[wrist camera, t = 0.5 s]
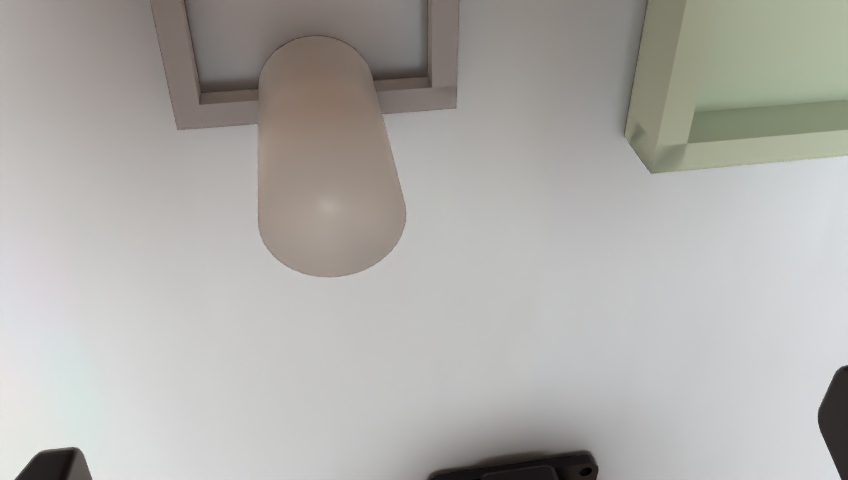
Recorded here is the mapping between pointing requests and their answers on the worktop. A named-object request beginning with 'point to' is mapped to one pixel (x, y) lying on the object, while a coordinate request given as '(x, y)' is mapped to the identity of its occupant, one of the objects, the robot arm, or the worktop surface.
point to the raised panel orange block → (318, 137)
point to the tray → (740, 83)
